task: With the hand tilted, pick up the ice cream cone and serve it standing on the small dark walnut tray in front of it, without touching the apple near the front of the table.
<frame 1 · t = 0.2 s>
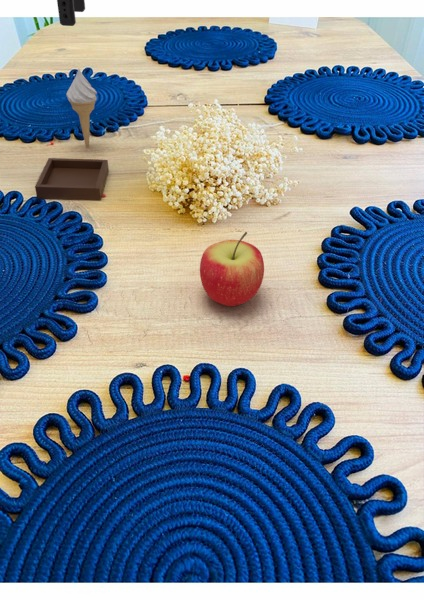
hand: (73, 18, 82), 25 cm above the table, tool pointing down, fingers open, 8 cm apart
ice cream cone: (88, 148, 105), on the table
apple: (229, 298, 72), on the table
tray: (74, 184, 93), on the table
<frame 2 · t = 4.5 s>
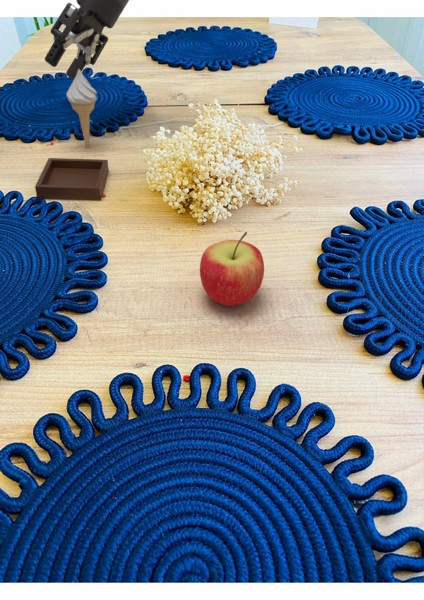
hand: (60, 71, 99), 13 cm above the table, tool tilted 40°, fingers open, 8 cm apart
nothing on the table moved.
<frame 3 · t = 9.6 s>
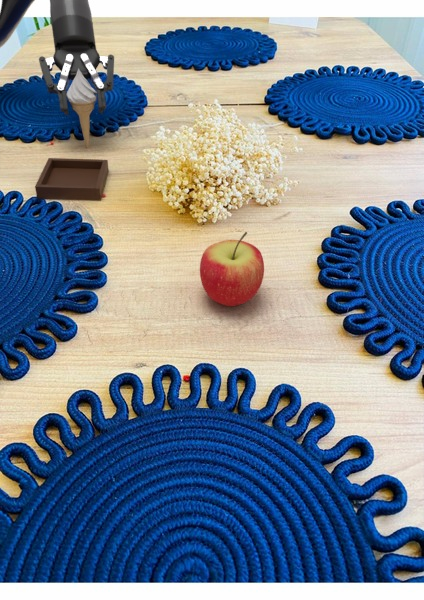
hand: (84, 112, 98), 8 cm above the table, tool tilted 45°, fingers closed on ice cream cone, 5 cm apart
ice cream cone: (88, 148, 105), on the table, touching gripper
everything else where it was.
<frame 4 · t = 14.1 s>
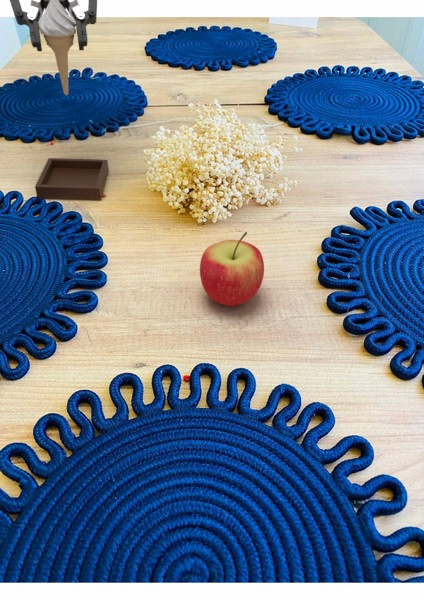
hand: (60, 47, 81), 22 cm above the table, tool tilted 45°, fingers closed on ice cream cone, 5 cm apart
ice cream cone: (67, 96, 87), point 14 cm above the table, touching gripper
everything else where it was.
when the fingers open (9 cm above the table, at t = 18.7 s): ice cream cone stays where it is, resting on tray.
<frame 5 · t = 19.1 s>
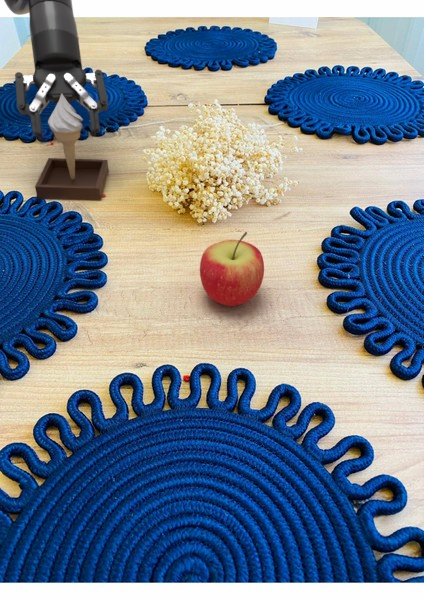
hand: (67, 136, 86), 9 cm above the table, tool tilted 45°, fingers open, 8 cm apart
ice cream cone: (73, 180, 93), point 1 cm above the table, touching tray
everything else where it was.
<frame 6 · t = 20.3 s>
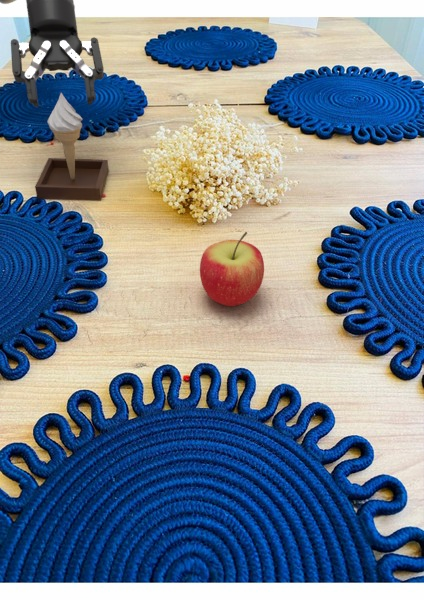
hand: (63, 103, 86), 13 cm above the table, tool tilted 45°, fingers open, 8 cm apart
nothing on the table moved.
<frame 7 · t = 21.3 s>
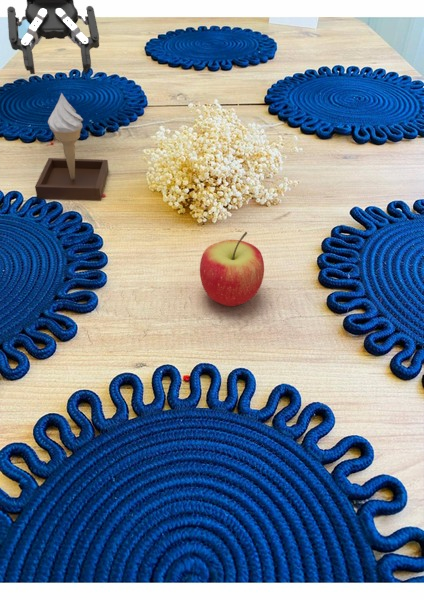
hand: (59, 71, 87), 17 cm above the table, tool tilted 45°, fingers open, 8 cm apart
nothing on the table moved.
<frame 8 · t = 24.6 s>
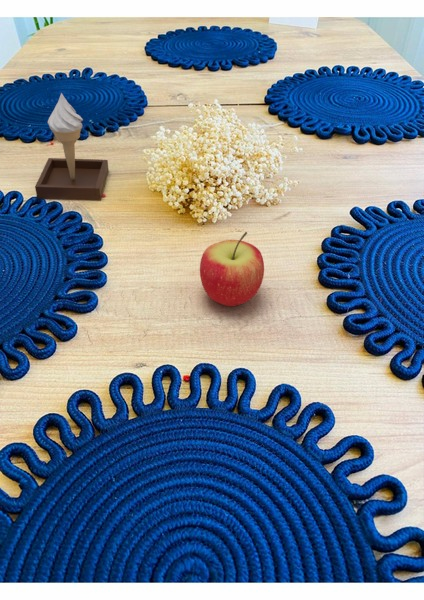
nothing on the table moved.
at the end: ice cream cone 0.2 cm off-centre in the tray, point 0.6 cm above the tray's base; ice cream cone tilted 0°; ice cream cone touching tray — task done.
